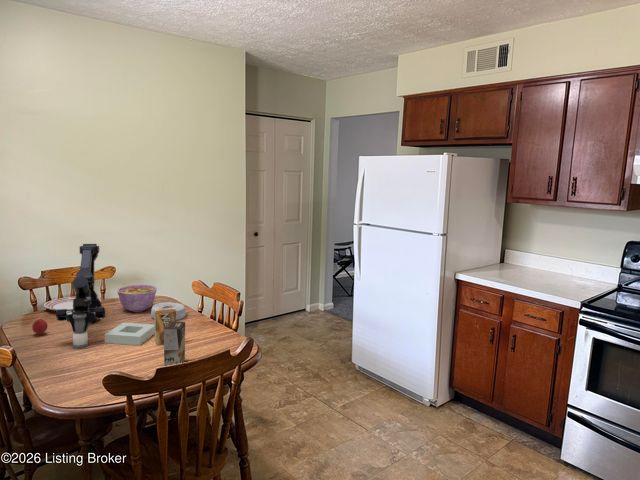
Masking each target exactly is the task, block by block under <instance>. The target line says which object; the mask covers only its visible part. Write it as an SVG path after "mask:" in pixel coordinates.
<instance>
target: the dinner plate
mask: <svg viewBox="0 0 640 480" xmlns="http://www.w3.org/2000/svg"><path fill="white" fill-rule="evenodd" d="M75 297H76V296H68V297H62V298H61V297H60V298H55V299H52V300H49V301H47V302H45V303H43V304H44V305H43V306H44V308H45V309H48V310H50V311H55V312H56V311H57V310H58V309H67V311H73V312H74V310H73V299H75ZM99 300H100V303H101V302H102V300H101V298H99Z"/></svg>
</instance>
